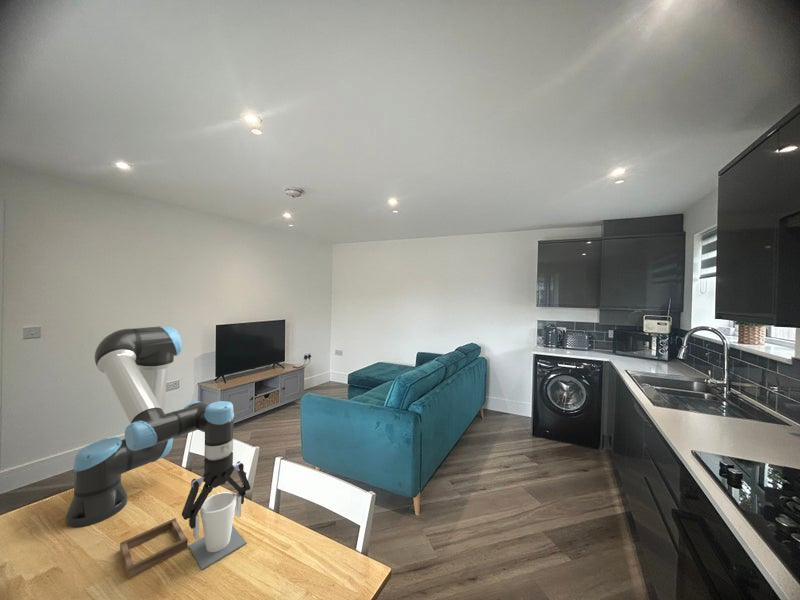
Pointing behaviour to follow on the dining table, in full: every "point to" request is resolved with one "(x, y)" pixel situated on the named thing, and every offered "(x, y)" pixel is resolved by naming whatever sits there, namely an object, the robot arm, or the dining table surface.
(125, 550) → the frame
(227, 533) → the foam cup
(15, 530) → the dining table surface
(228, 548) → the mat
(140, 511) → the dining table surface
